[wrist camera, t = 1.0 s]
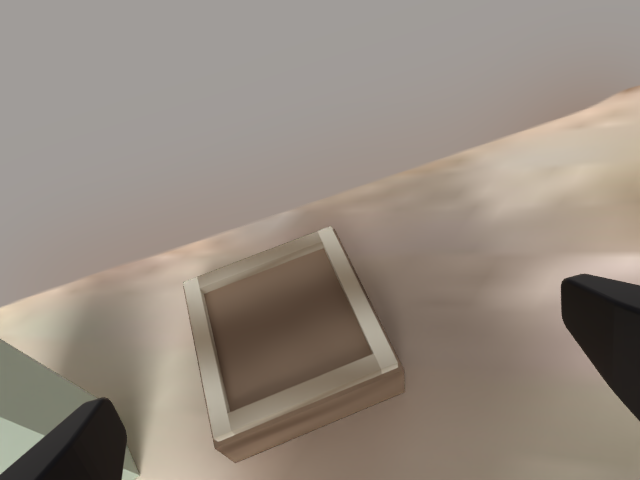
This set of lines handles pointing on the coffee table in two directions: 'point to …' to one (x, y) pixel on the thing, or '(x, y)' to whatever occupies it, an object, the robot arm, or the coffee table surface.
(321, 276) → the square shallow tray
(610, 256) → the coffee table surface
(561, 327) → the coffee table surface
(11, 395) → the sage pillar
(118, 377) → the coffee table surface
